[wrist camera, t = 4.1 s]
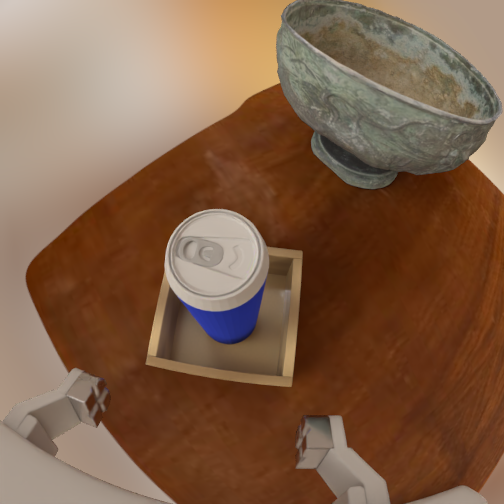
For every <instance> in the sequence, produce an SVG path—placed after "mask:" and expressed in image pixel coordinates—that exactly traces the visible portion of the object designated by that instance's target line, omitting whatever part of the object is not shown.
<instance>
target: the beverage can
mask: <svg viewBox="0 0 504 504" xmlns="http://www.w3.org/2000/svg"><path fill="white" fill-rule="evenodd" d="M268 269H269V254H268V250H267V246H266V244H265V242H264V240H263V238H262V237H261V235H260V233H259V232H258V230H257V229H256V227H255V226H254V225H253V224H252V223H251V222H250V221H249V220H248V219H247V218H245V217H244V216H242V215H240V214H238V213H236V212H233V211H229V210H225V209H210V210H205V211H202V212H198V213H196V214H194V215H192V216H190V217H189V218H187V219H186V220H184V221H183V222H182V223H181V224H180V225H179V226H178V227H177V228H176V230H175V231H174V232H173V234H172V236H171V238H170V240H169V242H168V245H167V250H166V256H165V273H166V277H167V280H168V282H169V285H170V287H171V288H172V290H173V291H174V293H175V294H176V295H177V297H178V298H179V299H180V300H181V302H182V303H183V304H184V306H185V307H186V308H187V309H188V311H189V312H190V313H191V314H192V316H193V317H194V318H195V319H196V321H197V322H198V323H199V324H200V325H201V327H202V328H203V329H204V330H205V331H206V333H207V334H208V335H209V336H210V337H211V338H212V339H214V340H215V341H217V342H219V343H223V344H236V343H239V342H242V341H243V340H245V339H246V338H248V337H249V336H250V335H251V334H252V332H253V331H254V328H255V326H256V323H257V318H258V314H259V310H260V305H261V301H262V296H263V292H264V287H265V283H266V279H267V274H268Z"/></svg>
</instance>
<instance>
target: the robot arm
mask: <svg viewBox="0 0 504 504" xmlns="http://www.w3.org/2000/svg"><path fill="white" fill-rule="evenodd" d="M106 385H107V383H106V381H105V379H103V378H101V377H98V376H95V375H93V374H90V373H87V372H85V371H82V370H80V369H77V368H74V369H72V371H71V372H70V373H69V374H68V376H67V377H66V378H65V379H64V381H63V382H62V384H61V385H60V386H59V387H58V389H57V390H51V391H49V392H47V393H44V394H41V395H39V396H36V397H34V398H31V399H28V400H26V401H23V402H21V403H18V404H16V405H15V406H14V407H13V408H12V410H11V411H10V412H9V414H8V415H7V416H6V418H5V419H4V420H3V421H0V504H171V503H167V502H163V501H160V500H156V499H153V498H149V497H146V496H143V495H140V494H137V493H134V492H131V491H128V490H125V489H122V488H120V487H118V486H114V485H112V484H110V483H107V482H105V481H103V480H100V479H98V478H96V477H93V476H91V475H89V474H87V473H85V472H83V471H81V470H79V469H76V468H75V467H73V466H71V465H69V464H67V463H65V462H63V461H61V460H59V459H58V458H56V457H55V455H56V453H57V452H58V448H57V446H56V445H55V444H54V442H53V441H52V440H53V439H55V438H56V437H58V436H60V435H61V434H63V433H65V432H66V431H68V430H70V429H71V428H73V427H75V426H76V425H78V424H80V423H81V422H83V423H86V424H88V425H91V426H93V427H96V428H97V426H98V425H99V423H100V421H101V420H102V418H103V416H102V412H104V411H106V410H107V409H108V407H109V405H110V400H111V396H110V392H109V390H108V389H107V388H106ZM295 447H296V448H297V449H298V451H297V453H296V455H295V456H296V468H299V469H316V470H317V471H318V473H319V474H320V476H321V477H322V478H323V480H324V481H325V482H326V484H327V485H328V486H329V488H330V489H331V490H332V492H333V493H334V494H335V495H336V497H337V498H338V499H337V500H335V501H334V502H333V503H332V504H390V500H389V494H388V489H387V485H386V481H385V480H384V479H383V478H382V477H381V476H380V475H379V474H377V473H376V472H375V471H374V470H373V469H372V468H371V467H370V466H369V465H368V464H367V463H366V462H365V461H364V460H363V459H362V458H361V457H360V456H359V455H358V454H357V453H356V452H355V451H354V450H353V449H352V448H347V442H346V437H345V431H344V426H343V421H342V417H341V416H327V415H303V416H302V419H301V425H300V426H298V429H297V432H296V437H295ZM405 504H488V503H487V500H486V499H485V498H484V497H483V496H482V495H480V494H479V493H477V492H476V491H474V490H472V489H471V488H469V487H467V486H464V485H461V486H457V487H455V488H452V489H449V490H447V491H444V492H441V493H438V494H435V495H433V496H429V497H426V498H423V499H420V500H416V501H413V502H409V503H405Z"/></svg>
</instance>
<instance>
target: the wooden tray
mask: <svg viewBox="0 0 504 504" xmlns="http://www.w3.org/2000/svg"><path fill="white" fill-rule="evenodd" d="M267 250H268V254H269V269H268V274H267V279H266V283H265V287H264V292H263V296H262V301H261V305H260V310H259V314H258V318H257V323H256V326H255V328H254V331H253V332H252V334H251V335H250V336H249V337H248V338H246V339H245V340H243V341H242V342H239V343H236V344H223V343H219V342H217V341H215V340H214V339H212V338H211V337H210V336H209V335H208V334H207V333H206V331H205V330H204V329H203V328H202V327H201V325H200V324H199V323H198V322H197V321H196V319H195V318H194V317H193V316H192V314H191V313H190V312H189V311H188V309H187V308H186V307H185V306H184V304H183V303H182V302H181V300H180V299H179V298H178V297H177V295H176V294H175V293H174V291H173V290H172V288H171V287H170V285H169V282H168V280H167V277H166V273H164V277H163V281H162V285H161V290H160V294H159V299H158V303H157V308H156V313H155V318H154V323H153V328H152V333H151V338H150V343H149V349H148V355H147V360H146V364H147V365H151V366H155V367H159V368H164V369H168V370H173V371H178V372H183V373H188V374H193V375H199V376H204V377H210V378H217V379H223V380H230V381H237V382H245V383H254V384H263V385H273V386H286V387H292V380H293V371H294V361H295V351H296V340H297V329H298V317H299V304H300V289H301V274H302V256H303V251H298V250H290V249H282V248H274V247H267Z"/></svg>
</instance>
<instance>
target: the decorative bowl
mask: <svg viewBox="0 0 504 504" xmlns="http://www.w3.org/2000/svg"><path fill="white" fill-rule="evenodd" d="M281 18H282V24H281V28H280V29H279V31H278V33H277V44H276V45H277V46H276V49H277V62H278V71H277V72H278V76H279V79H280V83H281V86H282V89H283V92H284V95H285V97H286V98H287V100H288V101H289V103H290V104H291V106H292V107H293V109H294V111H295V112H296V113H297V115H298V116H299V117H300V119H301V120H302V121H303V122H305V123H306V124H307V125H308V126H310V127H311V128H312V129H313V130H315V132H314V134H313V137H312V140H311V147H312V151H313V153H314V154H315V155H316V156H317V157H318V158H319V159H320V160H321V161H322V162H323V163H324V164H325V165H327V166H328V167H329V168H330V169H331V170H332V171H333V172H334V173H335V174H337V175H338V176H339V177H340V178H341V179H342V180H343V181H344V182H346V183H347V184H350V185H353V186H356V187H360V188H366V189H377V188H383V187H385V186H387V185H389V184H390V183H392V182H393V181H394V179H395V177H396V176H397V174H398V172H402V171H406V172H409V173H412V174H415V175H422V174H430V173H440V172H446V171H450V170H453V169H455V168H456V167H458V166H459V165H460V164H462V163H464V162H465V161H466V160H467V159H469V156H470V155H472V154H473V153H474V152H476V151H477V150H478V148H479V147H480V146H481V145H482V144H483V143H484V142H485V140H486V137H487V133H488V132H489V130H490V129H491V127H492V126H493V124H494V122H495V120H496V119H497V118H498V117H499V116H500V115H501V114H502V103H501V101H500V99H499V97H498V96H497V94H496V92H495V90H494V88H493V87H492V86H491V84H490V83H489V82H488V81H487V79H486V78H485V77H483V75H482V74H481V73H480V72H479V71H478V70H477V69H476V68H475V67H474V66H473V65H472V64H471V63H470V62H469V61H468V60H466V59H465V58H464V57H463V56H462V55H461V54H459V53H458V52H457V51H455V50H454V49H453V48H451V47H450V46H449V45H447V44H446V43H445V42H443V41H442V40H441V39H439V38H437V37H435V36H434V35H432V34H430V33H428V32H426V31H424V30H423V29H421V28H418V27H417V26H415V25H413V24H410V23H407V22H405V21H404V20H402V19H400V18H398V17H394V16H391V15H389V14H386V13H384V12H382V11H380V10H376V9H373V8H368V7H366V6H364V5H361V4H358V3H352V2H347V1H342V0H297V1H295V2H293V3H292V4H289V5H288V6H287V7H286V8H285V9H284V11H283V13H282V15H281Z"/></svg>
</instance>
